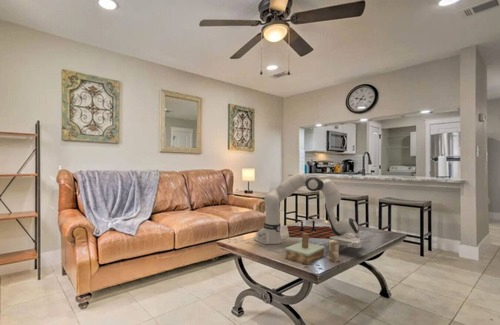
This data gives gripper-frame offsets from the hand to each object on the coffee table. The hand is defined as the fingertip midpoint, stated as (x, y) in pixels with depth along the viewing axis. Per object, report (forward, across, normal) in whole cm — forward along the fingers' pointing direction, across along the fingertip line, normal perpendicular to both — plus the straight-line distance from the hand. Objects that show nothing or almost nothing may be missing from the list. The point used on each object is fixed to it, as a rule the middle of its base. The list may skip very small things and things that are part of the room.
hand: (340, 244), depth 176 cm
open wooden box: (+17, -16, +8) cm, 25 cm away
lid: (+17, -16, +3) cm, 24 cm away
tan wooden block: (+9, 0, +8) cm, 12 cm away
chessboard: (-43, -46, +9) cm, 64 cm away
